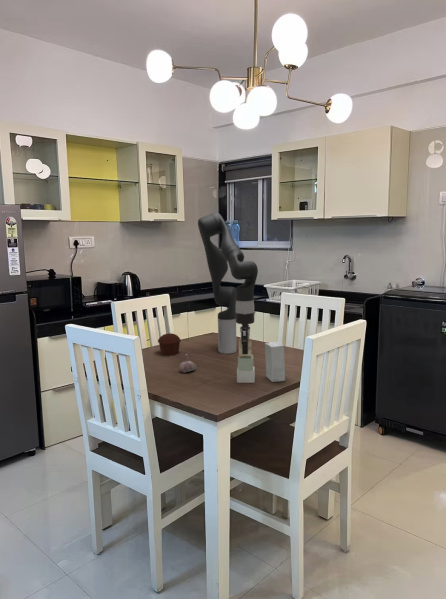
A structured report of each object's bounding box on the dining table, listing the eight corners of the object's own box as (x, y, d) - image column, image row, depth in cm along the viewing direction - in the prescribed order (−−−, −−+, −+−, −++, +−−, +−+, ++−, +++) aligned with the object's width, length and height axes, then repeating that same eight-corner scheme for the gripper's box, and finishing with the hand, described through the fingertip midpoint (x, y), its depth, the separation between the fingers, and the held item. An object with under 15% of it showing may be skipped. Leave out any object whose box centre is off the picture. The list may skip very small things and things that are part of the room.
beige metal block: (239, 352, 188) (239, 338, 187) (251, 352, 187) (251, 338, 186) (238, 356, 183) (238, 341, 182) (251, 356, 182) (251, 341, 181)
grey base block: (238, 377, 190) (237, 365, 190) (254, 377, 190) (254, 366, 189) (237, 382, 183) (236, 371, 183) (254, 383, 183) (254, 371, 182)
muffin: (182, 350, 235) (181, 331, 234) (180, 356, 224) (180, 336, 223) (159, 350, 235) (158, 332, 233) (156, 356, 224) (156, 337, 222)
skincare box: (285, 381, 184) (285, 345, 182) (271, 382, 183) (271, 346, 180) (278, 375, 192) (278, 340, 190) (264, 376, 191) (264, 341, 188)
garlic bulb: (180, 374, 195) (179, 356, 194) (178, 369, 202) (177, 352, 201) (197, 373, 197) (196, 355, 196) (195, 368, 204) (194, 351, 203)
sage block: (238, 366, 189) (238, 354, 188) (253, 366, 189) (253, 354, 188) (238, 370, 183) (237, 358, 182) (252, 370, 183) (252, 358, 182)
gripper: (236, 308, 189) (237, 347, 192) (234, 314, 175) (235, 357, 178) (254, 308, 189) (254, 347, 191) (253, 314, 175) (254, 357, 177)
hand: (245, 352), depth 185 cm, fingers closed on beige metal block, 5 cm apart
